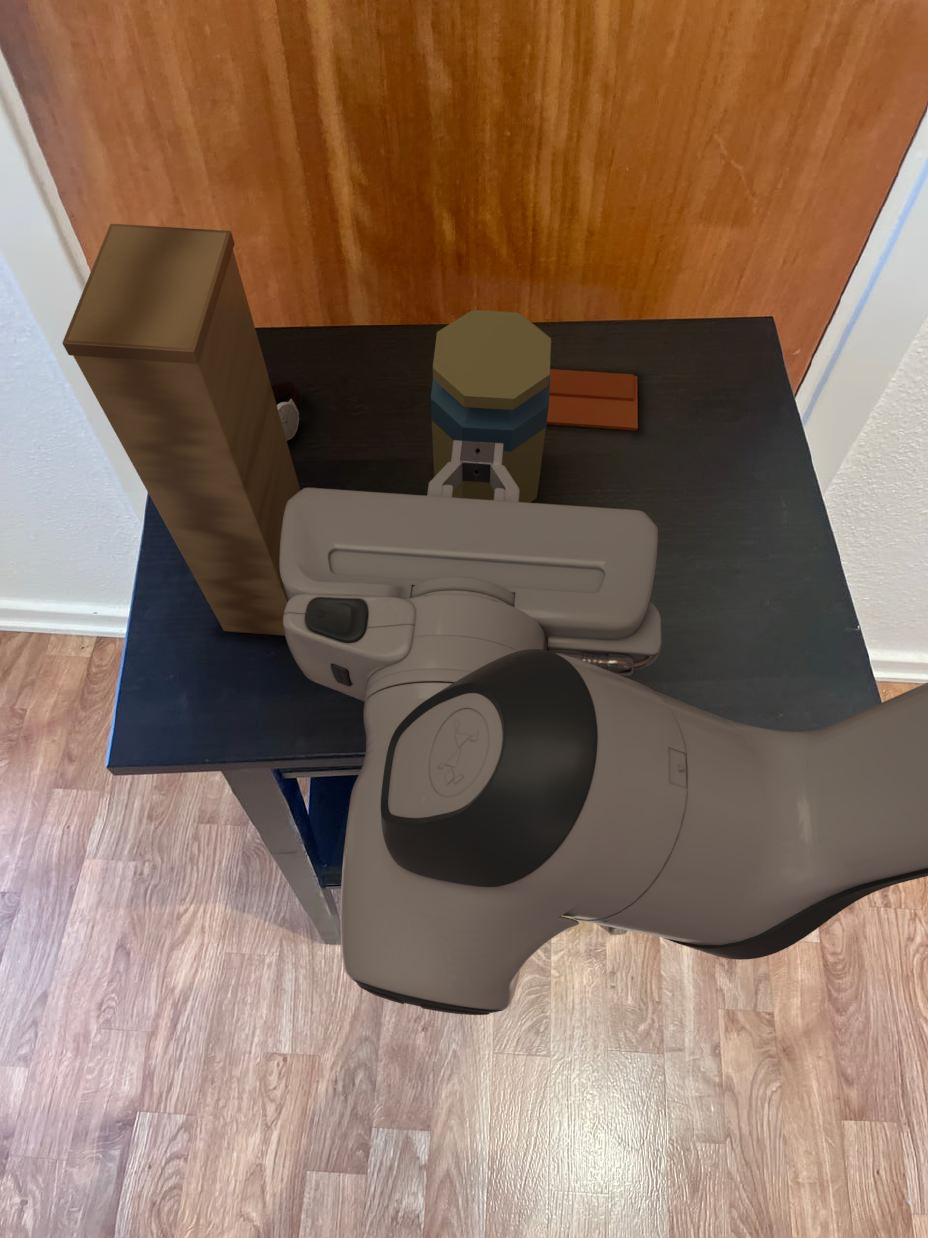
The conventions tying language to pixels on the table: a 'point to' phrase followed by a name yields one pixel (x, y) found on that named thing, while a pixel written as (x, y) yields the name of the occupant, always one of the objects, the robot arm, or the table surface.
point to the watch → (288, 406)
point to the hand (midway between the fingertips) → (478, 447)
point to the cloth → (593, 400)
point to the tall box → (192, 407)
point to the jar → (492, 395)
